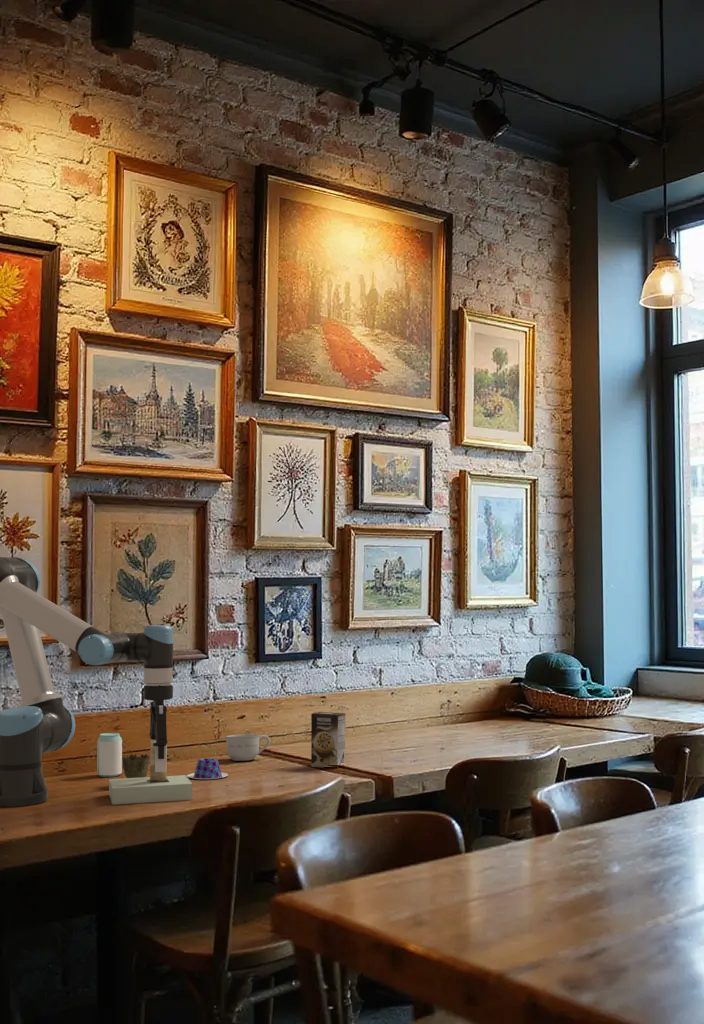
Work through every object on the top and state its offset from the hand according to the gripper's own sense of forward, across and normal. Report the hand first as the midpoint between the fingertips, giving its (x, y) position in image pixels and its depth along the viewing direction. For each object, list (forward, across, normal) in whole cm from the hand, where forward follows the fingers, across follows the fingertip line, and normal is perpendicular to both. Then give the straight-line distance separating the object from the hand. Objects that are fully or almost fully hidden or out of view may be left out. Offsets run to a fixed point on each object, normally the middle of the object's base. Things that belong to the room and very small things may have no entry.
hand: (157, 768), depth 277 cm
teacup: (+8, +55, -34) cm, 65 cm away
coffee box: (+8, +34, -55) cm, 65 cm away
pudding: (+8, +27, -17) cm, 33 cm away
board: (+7, 0, +2) cm, 8 cm away
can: (+7, +39, +10) cm, 41 cm away
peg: (+7, 0, 0) cm, 7 cm away
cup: (+7, +20, +4) cm, 22 cm away
